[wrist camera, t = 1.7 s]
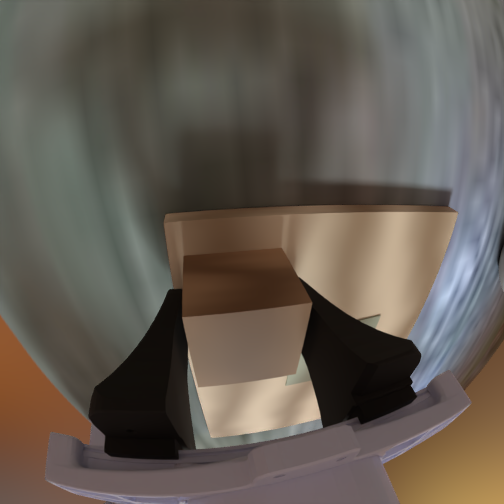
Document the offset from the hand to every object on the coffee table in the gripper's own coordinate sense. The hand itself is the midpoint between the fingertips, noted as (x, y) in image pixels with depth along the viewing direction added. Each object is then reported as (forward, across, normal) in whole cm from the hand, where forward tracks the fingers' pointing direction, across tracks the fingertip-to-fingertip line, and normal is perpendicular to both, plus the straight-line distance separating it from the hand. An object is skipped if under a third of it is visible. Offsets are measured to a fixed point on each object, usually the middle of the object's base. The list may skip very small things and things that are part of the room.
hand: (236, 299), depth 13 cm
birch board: (+2, -6, +8) cm, 10 cm away
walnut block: (+1, 0, 0) cm, 1 cm away
